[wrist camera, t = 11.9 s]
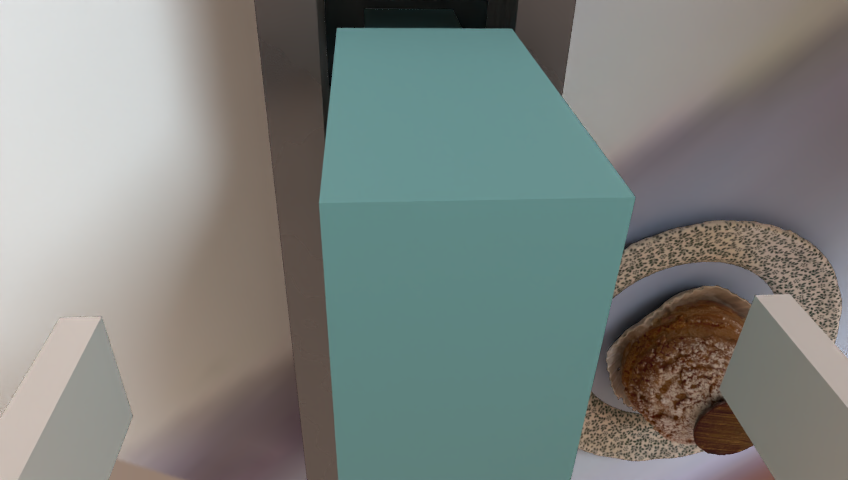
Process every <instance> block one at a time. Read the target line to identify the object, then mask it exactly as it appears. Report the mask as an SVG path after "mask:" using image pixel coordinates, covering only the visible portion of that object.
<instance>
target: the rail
mask: <svg viewBox="0 0 848 480" xmlns="http://www.w3.org/2000/svg"><path fill="white" fill-rule="evenodd" d="M254 2H255V11H256V20H257V29H258V38H259V47H260V56H261V65H262V75H263V84H264V93H265V102H266V111H267V120H268V129H269V138H270V147H271V156H272V165H273V175H274V184H275V193H276V202H277V211H278V220H279V229H280V238H281V247H282V256H283V265H284V274H285V284H286V293H287V302H288V311H289V320H290V329H291V338H292V347H293V356H294V365H295V374H296V383H297V393H298V402H299V411H300V420H301V429H302V438H303V447H304V456H305V465H306V474H307V480H338V468H337V454H336V440H335V425H334V411H333V397H332V382H331V368H330V354H329V339H328V325H327V311H326V296H325V282H324V268H323V253H322V239H321V225H320V210H319V198H320V189H321V179H322V169H323V159H324V150H325V140H326V130H327V120H328V111H329V101H330V95H329V77H328V58H327V40H326V22H325V3H324V0H254ZM575 4H576V0H488V7H487V20H486V29H513V31H514V32H515V34H516V35H517V36H518V38H519V39H520V40H521V42H522V43H523V44H524V46H525V47H526V49H527V50H528V51H529V53H530V54H531V55H532V57H533V58H534V59H535V61H536V62H537V64H538V65H539V66H540V68H541V69H542V70H543V72H544V73H545V74H546V76H547V77H548V79H549V80H550V81H551V83H552V84H553V85H554V87H555V88H556V89H557V91H558V92H559V94H560V95H561V96H562V93H563V86H564V79H565V73H566V66H567V59H568V52H569V45H570V38H571V32H572V25H573V18H574V11H575Z"/></svg>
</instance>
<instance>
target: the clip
mask: <svg viewBox="0 0 848 480" xmlns="http://www.w3.org/2000/svg"><path fill="white" fill-rule="evenodd" d="M364 27H365V28H337V32H336V42H335V52H334V62H333V71H332V81H331V91H330V101H329V111H328V120H327V130H326V140H325V150H324V159H323V169H322V179H321V189H320V198H319V210H320V225H321V239H322V253H323V268H324V282H325V296H326V311H327V325H328V339H329V354H330V368H331V382H332V397H333V411H334V425H335V440H336V454H337V468H338V480H571V476H572V472H573V467H574V463H575V459H576V454H577V450H578V445H579V441H580V437H581V432H582V428H583V424H584V419H585V415H586V411H587V406H588V402H589V398H590V393H591V389H592V385H593V380H594V376H595V372H596V367H597V363H598V359H599V354H600V350H601V346H602V341H603V337H604V333H605V328H606V324H607V320H608V315H609V311H610V307H611V302H612V298H613V293H614V289H615V285H616V280H617V276H618V272H619V267H620V263H621V259H622V254H623V250H624V246H625V241H626V237H627V233H628V228H629V224H630V220H631V215H632V211H633V207H634V202H635V198H636V197H635V196H634V194H633V193H632V192H631V190H630V189H629V188H628V186H627V185H626V183H625V182H624V181H623V179H622V178H621V177H620V175H619V174H618V173H617V171H616V170H615V168H614V167H613V166H612V164H611V163H610V162H609V160H608V159H607V158H606V156H605V155H604V154H603V152H602V151H601V149H600V148H599V147H598V145H597V144H596V143H595V141H594V140H593V139H592V137H591V136H590V134H589V133H588V132H587V130H586V129H585V128H584V126H583V125H582V124H581V122H580V121H579V119H578V118H577V117H576V115H575V114H574V113H573V111H572V110H571V109H570V107H569V106H568V104H567V103H566V102H565V100H564V99H563V98H562V96H561V95H560V94H559V92H558V91H557V89H556V88H555V87H554V85H553V84H552V83H551V81H550V80H549V79H548V77H547V76H546V74H545V73H544V72H543V70H542V69H541V68H540V66H539V65H538V64H537V62H536V61H535V59H534V58H533V57H532V55H531V54H530V53H529V51H528V50H527V49H526V47H525V46H524V44H523V43H522V42H521V40H520V39H519V38H518V36H517V35H516V34H515V32H514V31H513V29H474V28H462V27H461V25H460V23H459V21H458V19H457V17H456V15H455V13H454V11H453V9H377V8H364Z"/></svg>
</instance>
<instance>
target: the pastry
mask: <svg viewBox="0 0 848 480" xmlns="http://www.w3.org/2000/svg"><path fill="white" fill-rule="evenodd" d="M693 262H695V263H696V262H722V263H728V264H733V265H736V266H739V267H742V268H744V269H747V270H750V271H751V272H753V273H755V274H756V275H758V276H759V277H760V278H762V279H763V280H764V281H765V282H766V283H767V284H768V286H769V287H770V288H771V289H772V292H773V294H774V295H780V294H790V295H791V296H792V297H793V298H794V299H795V300H796V302H797V303H798V304H799V305H800V306H801V307H802V308H803V309H804V310H805V312H806V313H807V314H808V315H809V316H810V317H811V318H812V319H813V320H814V322H815V323H816V324H817V325H818V326H819V327H820V328H821V329H822V330H823V332H824V333H825V334H826V335H827V336H828V337H829V338H830V339H831V340H832V342H833V343H834V344H835V341H836V338H837V334H838V328H839V320H840V316H841V311H842V298H841V294H840V290H839V286H838V283H837V277H836V275H835V272H834V270H833V268H832V266H831V264H830V263H829V261H828V260H827V258H826V257H825V256H824V255H823V254H822V253H821V252H820V250H818V249H817V248H816V247H815V246H814V245H813V244H812V243H810V242H809V241H808V240H805V239H804V238H802V237H800V236H798V235H797V234H796V233H793V232H792V231H791V230H783V229H781V228H779V227H778V226H774V225H771V224H762V223H758V222H756V221H735V220H729V221H725V220H715V221H705V222H704V223H701V224H694V225H689V226H685V227H677V228H675V229H670V230H668V231H665V232H662V233H660V234H657V235H655V236H652V237H649V238H645V239H643V240H640V241H638V242H636V243H632V244H631V245H629V247H628V248H626V249H625V250H623V254H622V259H621V263H620V267H619V272H618V276H617V280H616V285H615V289H614V293H613V298H614V297H615V296H616V295H618V294H619V293H620V292H622V291H623V290H624V289H626V288H628V287H629V286H630V285H632V284H633V283H635V282H637V281H639V280H640V279H642V278H644V277H647V276H649V275H651V274H653V273H655V272H658V271H661V270H663V269H666V268H670V267H674V266H677V265H682V264H687V263H693ZM613 298H612V299H613ZM750 307H751V304H750V303H749V302H748V301H747V300H745V299H742V298H740V297H739V296H738V295H737V294H734V293H731V292H730V291H729V290H728V289H725V288H721V287H720V286H717V285H716V286H701V287H700V288H693V289H690V290H686V291H683V292H680V293H678V294H676V295H674V296H673V297H671V298H670V299H669V300H667V301H665V302H664V303H663V304H662V305H661V306H660V307H659V308H658V309H656V310H655V311H653V312H651V313H649V314H648V315H647V316H645V317H644V318H643V319H642V320H641V321H640V322H638V323H637V324H634V325H633V326H631V327H630V328H628V329H627V330H626V331H625V332H624V333H623V334H622V335H621V336H620V337H619V338H618V339H617V340H616V341H615V342H614V343H613V345H612V346H611V347H610V348H609V350H608V351H607V358H606V362H607V364H608V366H607V371H608V372H609V376H610V377H609V379H610V381H611V387H612V388H613V390H614V394H615V395H616V396H617V397H618V400H619V397H620V398H623V403H624V404H626V405H627V406H628V407H632V408H633V409H632V410H633V411H636V410H637V411H638V412H639V413H641V414H636V413H631V412H626V411H622V410H619V409H617V408H613V407H612V406H609V405H608V404H606V403H604V402H603V401H601V400H600V399H599V398H597V397H596V396H595V395H594V394H593V393H592V392H591V393H590V398H589V402H588V406H587V411H586V415H585V419H584V424H583V428H582V432H581V437H580V441H579V445H578V448H579V449H582V450H583V451H586V452H589V453H593V454H595V455H599V456H605V457H613V458H620V459H623V460H630V461H645V460H650V459H651V460H652V459H663V458H677V457H683V456H687V455H692V454H695V453H699V452H702V451H705V452H707V453H711V454H716V455H726V454H734V453H737V452H740V451H743V450H745V449H747V448H749V447H751V446H753V443H752V442H751V440H750V438H749V437H748V435H747V434H746V432H745V430H744V429H743V427H742V426H741V424H740V422H739V421H738V419H737V418H736V416H735V415H734V413H733V411H732V410H731V408H730V407H729V405H728V403H727V402H726V400H725V399H724V397H723V395H722V394H721V392H720V391H719V388H720V385H721V383H722V380H723V378H724V375H725V372H726V370H727V367H728V365H729V362H730V359H731V357H732V354H733V351H734V349H735V346H736V344H737V341H738V338H739V336H740V333H741V331H742V328H743V325H744V323H745V320H746V318H747V315H748V312H749V310H750ZM618 368H620V369H619V370H618Z"/></svg>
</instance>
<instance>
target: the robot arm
mask: <svg viewBox="0 0 848 480" xmlns="http://www.w3.org/2000/svg"><path fill="white" fill-rule="evenodd" d="M719 391H720V392H721V394H722V395H723V397H724V399H725V400H726V402H727V403H728V405H729V407H730V408H731V410H732V411H733V413H734V415H735V416H736V418H737V419H738V421H739V422H740V424H741V426H742V427H743V429H744V430H745V432H746V434H747V435H748V437H749V438H750V440H751V442H752V443H753V445H754V446H755V448H756V450H757V451H758V453H759V454H760V456H761V458H762V459H763V461H764V462H765V464H766V466H767V467H768V469H769V470H770V472H771V474H772V475H773V477H774V478H775V480H848V358H847V357H846V356H845V355H844V354H843V353H842V352H841V350H840V349H839V348H838V347H837V346H836V345H835V344H834V343H833V342H832V340H831V339H830V338H829V337H828V336H827V335H826V334H825V333H824V332H823V330H822V329H821V328H820V327H819V326H818V325H817V324H816V323H815V322H814V320H813V319H812V318H811V317H810V316H809V315H808V314H807V313H806V312H805V310H804V309H803V308H802V307H801V306H800V305H799V304H798V303H797V302H796V300H795V299H794V298H793V297H792V296H791V295H790V294H780V295H755V297H754V299H753V302H752V304H751V307H750V310H749V312H748V315H747V318H746V320H745V323H744V325H743V328H742V331H741V333H740V336H739V338H738V341H737V344H736V346H735V349H734V351H733V354H732V357H731V359H730V362H729V365H728V367H727V370H726V372H725V375H724V378H723V380H722V383H721V385H720V388H719ZM132 417H133V415H132V412H131V409H130V405H129V402H128V399H127V396H126V393H125V389H124V386H123V383H122V380H121V377H120V374H119V370H118V367H117V364H116V361H115V358H114V354H113V351H112V348H111V345H110V342H109V338H108V335H107V332H106V329H105V326H104V322H103V319H102V316H94V317H63V318H59V320H58V321H57V323H56V325H55V326H54V328H53V330H52V332H51V333H50V335H49V337H48V338H47V340H46V342H45V343H44V345H43V347H42V348H41V350H40V352H39V353H38V355H37V357H36V358H35V360H34V362H33V364H32V365H31V367H30V369H29V370H28V372H27V374H26V375H25V377H24V379H23V380H22V382H21V384H20V385H19V387H18V389H17V390H16V392H15V394H14V396H13V397H12V399H11V401H10V402H9V404H8V406H7V407H6V409H5V411H4V412H3V414H2V416H1V417H0V480H109V478H110V475H111V472H112V470H113V467H114V464H115V462H116V459H117V456H118V454H119V451H120V449H121V446H122V443H123V441H124V438H125V435H126V433H127V430H128V427H129V425H130V422H131V419H132Z"/></svg>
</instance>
